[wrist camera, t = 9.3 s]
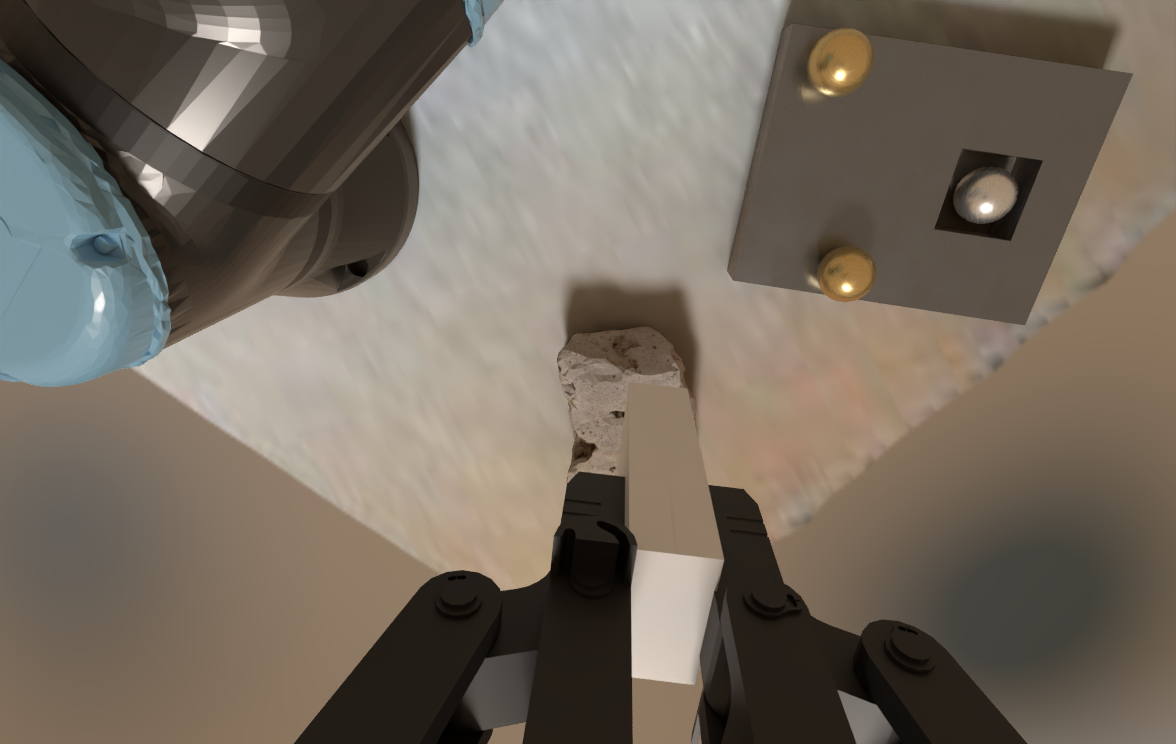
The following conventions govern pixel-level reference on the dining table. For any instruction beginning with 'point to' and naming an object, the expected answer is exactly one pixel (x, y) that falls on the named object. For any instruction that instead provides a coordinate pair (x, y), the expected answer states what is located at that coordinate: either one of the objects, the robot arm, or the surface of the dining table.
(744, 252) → the plate
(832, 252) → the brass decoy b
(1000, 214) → the steel ball
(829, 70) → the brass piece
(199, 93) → the robot arm
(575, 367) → the stone
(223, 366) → the dining table surface
